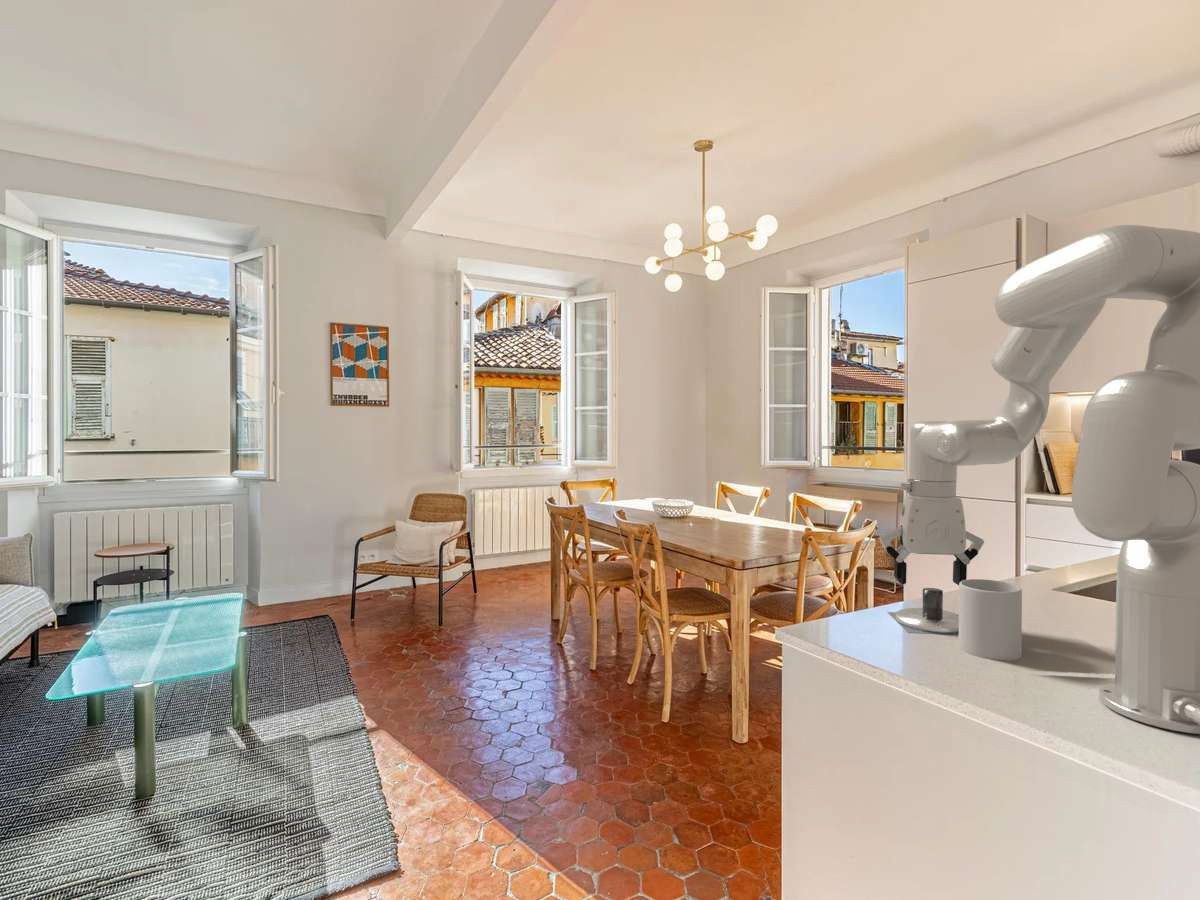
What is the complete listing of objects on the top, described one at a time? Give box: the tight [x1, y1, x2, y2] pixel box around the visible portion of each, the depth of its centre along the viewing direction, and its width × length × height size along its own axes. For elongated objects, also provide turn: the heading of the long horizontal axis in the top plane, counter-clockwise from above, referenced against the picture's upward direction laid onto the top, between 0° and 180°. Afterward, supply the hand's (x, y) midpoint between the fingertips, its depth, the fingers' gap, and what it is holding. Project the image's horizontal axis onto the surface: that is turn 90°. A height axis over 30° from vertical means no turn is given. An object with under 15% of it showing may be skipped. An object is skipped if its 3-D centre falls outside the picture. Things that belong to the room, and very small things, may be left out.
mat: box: [887, 611, 959, 636], centre depth 112 cm, size 12×12×1 cm
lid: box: [895, 587, 959, 635], centre depth 112 cm, size 12×12×6 cm
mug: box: [957, 578, 1023, 661], centre depth 99 cm, size 12×8×11 cm
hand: (929, 583), depth 112 cm, fingers open, 9 cm apart
